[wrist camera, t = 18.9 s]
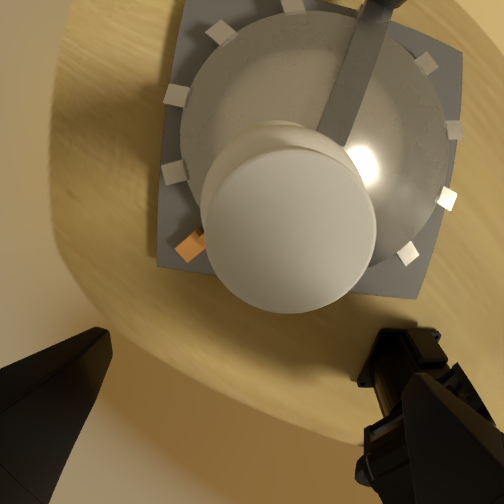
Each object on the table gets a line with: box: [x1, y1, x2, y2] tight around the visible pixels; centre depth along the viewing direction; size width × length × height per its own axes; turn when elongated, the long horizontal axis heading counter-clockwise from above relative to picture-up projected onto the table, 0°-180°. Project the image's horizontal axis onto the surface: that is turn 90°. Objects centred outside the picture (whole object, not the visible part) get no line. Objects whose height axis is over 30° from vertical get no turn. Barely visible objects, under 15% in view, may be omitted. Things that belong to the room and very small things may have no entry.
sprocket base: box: [157, 0, 462, 300], centre depth 16 cm, size 19×19×2 cm
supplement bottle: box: [200, 125, 376, 314], centre depth 11 cm, size 5×5×10 cm
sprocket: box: [161, 0, 463, 292], centre depth 12 cm, size 18×20×6 cm
